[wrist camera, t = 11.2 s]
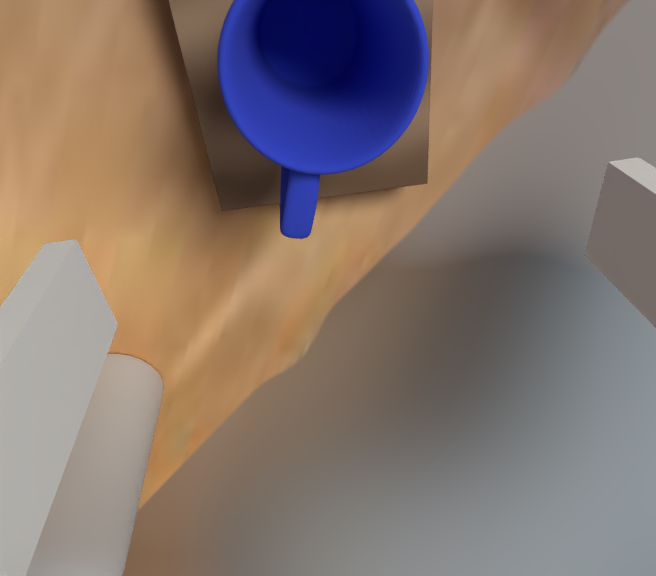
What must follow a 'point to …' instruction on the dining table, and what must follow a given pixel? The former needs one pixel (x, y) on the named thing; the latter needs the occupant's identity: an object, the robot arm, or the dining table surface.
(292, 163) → the mug
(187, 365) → the dining table surface
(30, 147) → the dining table surface
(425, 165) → the board
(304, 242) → the dining table surface
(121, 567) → the bottle
